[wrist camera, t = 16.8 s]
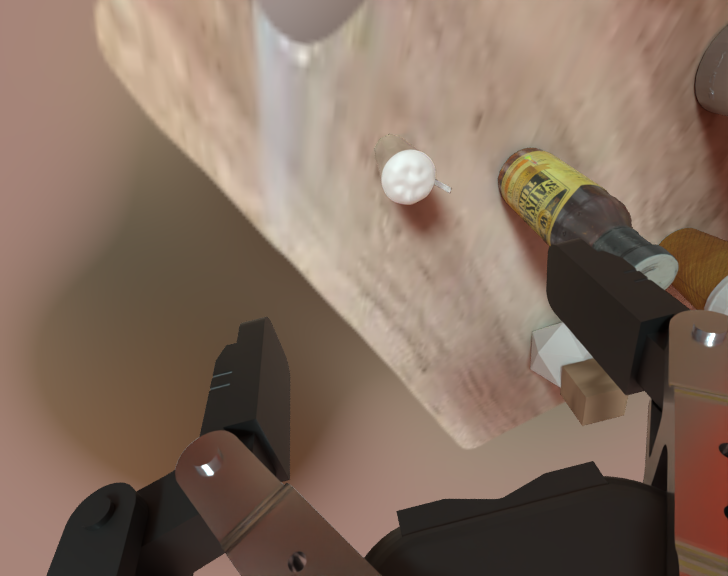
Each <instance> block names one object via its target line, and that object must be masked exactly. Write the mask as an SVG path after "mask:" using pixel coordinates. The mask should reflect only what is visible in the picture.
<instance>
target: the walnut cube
mask: <svg viewBox="0 0 728 576" xmlns="http://www.w3.org/2000/svg"><path fill="white" fill-rule="evenodd" d="M560 394H561V396H562V397H563V399H564V400H565V401H566V403H567V404H568V406H569V407H570V408H571V410H572V411H573V413H574V414H575V416H576V417H577V419H578V420H579V422H580V423H581V425H582V426H584V425H588V424H592V423H596V422H599V421H604V420H607V419H612V418H616V417H620V416H623V415H624V413H625V408H626V404H627V399H628V395H625V394H624V393H623V392H622V391H621V389H620V388H619V387H618V386H617V385H616V384H615V382H614V381H613V380H612V379H611V378H610V377H609V375H608V374H607V373H606V372H605V371H604V370H603V368H602V367H601V366H600V365H599V364H598V363H597V361H596V360H595V359H594V358H592V359H588V360H585V361H581V362H576V363H572V364H568V365H564V366H562V378H561V390H560Z"/></svg>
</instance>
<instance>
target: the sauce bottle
mask: <svg viewBox="0 0 728 576" xmlns="http://www.w3.org/2000/svg"><path fill="white" fill-rule="evenodd" d="M498 184H499V189H500V192H501V195H502V197H503V198H504V200H505V201H506V202H507V204H508V205H509V206H510V207H511V208H512V209H513V210H514V211H515V212H516V213H517V214H518V215H519V216H520V217H521V218H522V219H523V220H524V221H525V222H526V223H527V224H528V225H529V226H530V227H531V228H532V229H533V230H534V231H535V232H536V233H537V234H538V235H539V236H540V237H541V238H542V239H543V240H544V241H545V242H546V243H547V244H548V245H549V246H551V245H553V244H557V243H561V242H565V241H569V240H573V239H577V238H580V239H582V240H584V241H585V242H586V243H588V244H589V245H590V246H591V247H592V248H594V249H595V250H596V251H597V252H599V251H606V252H608V253H611V254H614V255H616V256H619V257H621V258H623V259H625V260H626V261H627V262H628V263H630V264H631V265H632V266H634V267H635V268H636V270H637V271H640V272H642V273H643V274H644V275H645V276H647V277H648V280H652V281H653V282H655V283H656V284H657V285H659V286H660V287H661V288H663V289H664V290H665V289H667V288H668V287H669V285H670V284H671V283H672V282H673V281H674V279H675V276H676V274H677V272H678V262H677V260H676V259H675V257H674V256H673V255H671V254H670V253H669V252H668V251H667V250H666V249H664V248H663V247H661V246H659V245H652V244H651V243H650V242H648V241H647V240H645V239H644V238H643V237H641V236H640V235H639V233H638V232H637V231H635V230H634V229H633V227H632V224H631V221H632V220H631V216H630V213H629V212H628V210H627V209H626V207H625V205H624V204H623V203H621V202H620V201H619V200H618V199H617V198H615V197H613V196H611V195H610V194H609V193H608V192H607V191H606V190H605V189H604V188H602V187H601V186H599V185H598V184H596V183H595V182H593V181H592V180H590V179H589V178H587V177H585V176H584V175H582V174H581V173H579V172H578V171H576V170H575V169H573V168H572V167H570V166H569V165H567V164H566V163H564V162H563V161H561V160H560V159H559V158H557V157H555V156H554V155H552V154H550V153H548V152H545V151H543V150H540V149H537V148H526V149H522V150H519V151H518V152H516V153H514V154H513V155H512V156H510V158H509V159H508V160H507V161H506V163H505V164H504V165H503V167H502V169H501V170H500V175H499V177H498Z"/></svg>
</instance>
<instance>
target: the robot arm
mask: <svg viewBox="0 0 728 576" xmlns="http://www.w3.org/2000/svg"><path fill="white" fill-rule="evenodd" d="M695 89H696V96H697V99H698V101H699V103H700V104H701V106H702V107H703V108H704V109H706V110H708V111H709V112H713V113H716V114H720V115H724V116H728V25H727V26H726V27H725V28H724V29H723V30H722V31H721V32H720V33H719V34H718V35H717V37H716V38H715V39H714V40H713V41H712V43H711V44H710V46H709V48H708V49H707V51H706V52H705V54H704V56H703V58H702V61H701V63H700V65H699V68H698V72H697V75H696V83H695ZM546 292H547V298H548V301H549V304H550V306H551V308H552V310H553V311H554V312H555V314H556V315H557V316H558V317H559V318H560V319H561V321H562V322H563V323H564V324H565V325H566V326H567V328H568V329H569V330H570V331H571V332H572V333H573V335H574V336H575V337H576V338H577V339H578V340H579V342H580V343H581V344H582V345H583V346H584V347H585V349H586V350H587V351H588V352H589V353H590V354H591V356H592V357H593V358H594V359H595V360H596V361H597V363H598V364H599V365H600V366H601V367H602V368H603V370H604V371H605V372H606V373H607V374H608V375H609V377H610V378H611V379H612V380H613V381H614V382H615V384H616V385H617V386H618V387H619V388H620V389H621V391H622V392H623V393H624V394H625V395H630V394H634V393H638V392H642V391H645V392H646V393H647V394H648V395H649V396H650V401H649V405H648V420H647V439H646V458H645V459H646V460H645V472H644V480H643V483H641V482H638V481H634V480H629V479H625V478H618V477H609V476H603V475H602V474H601V473H600V471H599V469H598V468H597V466H596V465H595V463H594V462H593V461H592V462H588V463H584V464H580V465H576V466H572V467H568V468H564V469H560V470H556V471H553V472H549V473H545V474H543V475H541V476H540V477H538V478H536V479H535V480H533V481H531V482H529V483H528V484H526V485H524V486H522V487H521V488H519V489H517V490H516V491H514V492H512V493H510V494H509V495H507V496H505V497H503V498H500V499H442V500H439V501H435V502H431V503H427V504H423V505H419V506H415V507H411V508H407V509H403V510H399V511H397V516H398V521H399V525H400V527H398V528H397V529H395V530H393V531H391V532H390V533H389V534H387V535H386V536H385V537H383V538H382V539H381V540H380V541H379V542H378V543H377V544H376V545H375V546H374V547H373V548H372V549H371V550H370V551H369V552H368V554H367V555H366V556H365V557H364V558H363V557H362V556H361V555H360V554H359V553H358V552H357V551H356V550H355V549H354V548H353V547H352V546H351V545H350V544H349V543H348V542H347V541H346V540H345V539H344V538H343V537H342V536H341V535H340V534H339V533H338V532H337V531H336V530H335V529H334V528H333V527H332V526H331V525H330V524H329V523H328V522H327V521H326V520H325V519H324V518H323V517H322V516H321V515H320V514H319V513H318V512H317V511H316V510H315V509H314V508H313V507H312V506H311V505H310V504H309V503H308V502H307V501H306V500H305V499H304V498H303V497H302V496H301V495H300V494H299V493H298V492H297V491H296V490H295V489H294V488H293V487H292V486H291V485H290V484H288V483H286V484H285V485H284V484H282V483H281V482H283V481H287V480H289V479H290V371H289V366H288V362H287V358H286V356H285V353H284V351H283V349H282V346H281V344H280V342H279V339H278V337H277V335H276V332H275V330H274V328H273V325H272V323H271V321H270V319H269V318H268V317H264V318H260V319H256V320H252V321H248V322H244V323H241V324H240V327H239V333H238V339H237V343H234V344H231V345H227V346H226V347H225V348H224V350H223V351H222V352H221V354H220V355H219V357H218V359H217V360H216V363H215V368H214V372H213V378H212V381H211V386H210V389H211V391H209V396H208V401H207V405H206V409H205V414H204V419H203V423H202V428H201V433H200V437H199V438H198V439H196V440H195V441H193V442H192V443H191V444H190V445H189V446H188V447H187V448H186V449H185V450H184V451H183V453H182V454H181V456H180V458H179V459H178V462H177V464H176V468H175V470H174V471H173V472H171V473H169V474H168V475H166V476H164V477H162V478H160V479H159V480H157V481H155V482H153V483H152V484H150V485H148V486H146V487H144V488H142V489H140V490H138V491H137V492H136V491H135V490H134V489H133V487H131V486H130V485H129V484H126V483H113V484H109V485H107V486H104V487H102V488H100V489H98V490H97V491H95V492H94V493H92V494H91V495H90V496H88V497H87V498H86V499H85V500H84V501H83V502H82V503H81V504H80V505H79V506H78V507H77V508H76V510H75V511H74V512H73V513H72V515H71V516H70V518H69V520H68V522H67V524H66V526H65V529H64V531H63V534H62V537H61V539H60V542H59V544H58V547H57V550H56V552H55V555H54V557H53V560H52V563H51V565H50V568H49V570H48V573H47V576H193V573H194V572H195V571H197V570H198V569H200V568H202V567H203V566H205V565H206V564H208V563H210V562H211V561H213V560H214V559H216V558H218V557H219V556H221V555H223V554H224V553H226V555H227V557H228V558H229V559H230V561H231V562H232V564H233V565H234V567H235V568H236V569H237V571H238V572H239V573H240V575H241V576H728V315H725V314H722V313H718V312H714V311H708V310H690V309H689V308H687V307H686V306H685V305H683V304H682V303H681V302H680V301H678V300H677V299H676V298H674V297H673V296H672V295H670V294H669V293H668V292H666V291H665V290H664V289H663V288H661V287H660V286H659V285H657V284H656V283H655V282H653V281H652V280H648V277H647V276H645V275H644V274H643V273H642V272H640V271H637V270H636V268H635V267H634V266H632V265H631V264H630V263H628V262H627V261H626V260H625V259H623V258H621V257H619V256H616V255H614V254H611V253H608V252H606V251H599V252H597V251H596V250H595V249H594V248H592V247H591V246H590V245H589V244H588V243H586V242H585V241H584V240H582V239H580V238H577V239H573V240H569V241H565V242H561V243H557V244H553V245H551V246H550V247H549V250H548V262H547V286H546Z"/></svg>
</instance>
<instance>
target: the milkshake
mask: <svg viewBox="0 0 728 576" xmlns="http://www.w3.org/2000/svg"><path fill="white" fill-rule="evenodd" d="M374 151H375V159H376V163H377V166H378V170H379V173H380V178H381V182H382V187H383V189H384V192H385V193H386V195H387V196H388V197H389V198H390V199H391V200H392V201H394V202H396V203H399V204H405V205H411V204H414V203H416V202H418V201H420V200H422V199H424V198H425V197H426V196H427V195H428V194H429V193H430V192H431V190H432V188H433V186H434V185H436V186H438V187H439V188H441V189H443V190H445V191H446V192H448V193H451V189H452V188H451V187H449V186H447V185H445V184H444V183H442V182H440V181H438V180H437V179H435V178H436V169H435V166H434V164H433V162H432V160H431V159H430V158H429V157H428V156H427V155H426V154H425V153H423V152H422V151H420V150H418V149H417V148H415V147H414V146H412V145H411V144H410V143H408V142H407V141H406V140H404V139H403V138H402V137H400V136H398V135H392V134H388V135H386V136H384V137H382V138H380V139H379V141H378V143H377V145H376V146H375V148H374Z"/></svg>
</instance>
